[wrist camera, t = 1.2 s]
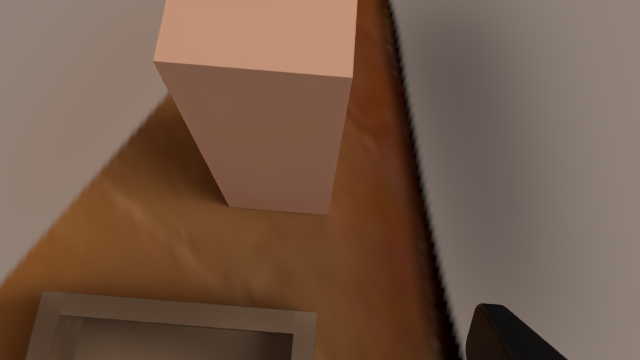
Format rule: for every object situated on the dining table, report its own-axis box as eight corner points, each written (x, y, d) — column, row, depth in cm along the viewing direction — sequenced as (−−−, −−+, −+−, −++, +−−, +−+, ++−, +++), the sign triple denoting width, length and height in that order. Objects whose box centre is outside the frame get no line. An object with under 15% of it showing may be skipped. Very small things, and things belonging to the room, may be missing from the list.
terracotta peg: (327, 215, 22) (352, 78, 11) (229, 206, 22) (152, 60, 11) (334, 125, 24) (361, -76, 13) (242, 118, 24) (186, -92, 12)
